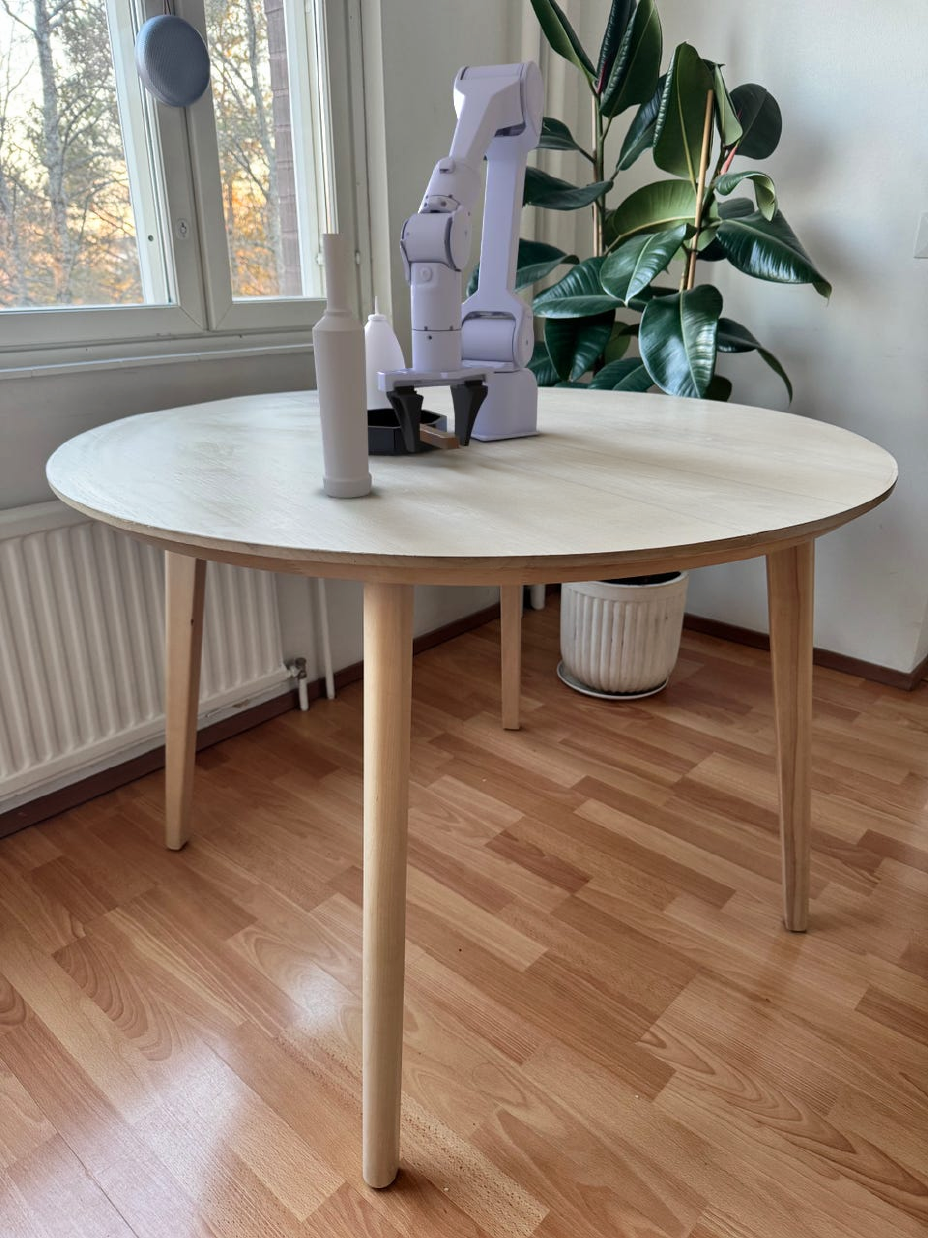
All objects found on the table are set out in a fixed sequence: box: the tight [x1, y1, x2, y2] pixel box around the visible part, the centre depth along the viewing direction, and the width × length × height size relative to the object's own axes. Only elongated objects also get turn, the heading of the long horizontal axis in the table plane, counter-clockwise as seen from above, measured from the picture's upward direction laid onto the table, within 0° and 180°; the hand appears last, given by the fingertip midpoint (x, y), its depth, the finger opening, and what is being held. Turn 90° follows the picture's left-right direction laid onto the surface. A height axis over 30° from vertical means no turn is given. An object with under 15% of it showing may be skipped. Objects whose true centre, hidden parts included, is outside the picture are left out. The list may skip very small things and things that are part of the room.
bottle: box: [311, 233, 373, 499], centre depth 84 cm, size 5×5×25 cm
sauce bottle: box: [364, 294, 407, 410], centre depth 120 cm, size 8×8×18 cm
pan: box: [367, 408, 461, 456], centre depth 107 cm, size 14×24×4 cm, turn 31°
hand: (438, 447), depth 100 cm, fingers open, 6 cm apart
